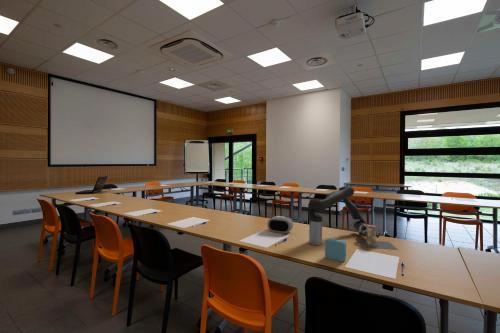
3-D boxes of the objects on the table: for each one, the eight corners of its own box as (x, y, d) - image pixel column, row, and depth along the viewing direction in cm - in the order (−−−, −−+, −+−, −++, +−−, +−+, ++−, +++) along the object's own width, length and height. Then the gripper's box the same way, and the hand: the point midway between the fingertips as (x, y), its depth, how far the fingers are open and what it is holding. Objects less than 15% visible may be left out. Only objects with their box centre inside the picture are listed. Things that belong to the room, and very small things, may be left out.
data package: (346, 260, 155) (346, 241, 155) (344, 262, 151) (344, 243, 151) (327, 255, 162) (327, 237, 162) (324, 257, 159) (325, 239, 158)
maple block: (368, 245, 181) (368, 226, 180) (366, 243, 186) (366, 224, 185) (375, 245, 180) (375, 226, 180) (373, 243, 185) (373, 225, 185)
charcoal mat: (362, 248, 176) (362, 247, 176) (355, 240, 194) (356, 239, 194) (398, 250, 172) (398, 250, 172) (389, 242, 190) (389, 241, 190)
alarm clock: (267, 232, 214) (267, 216, 214) (270, 229, 223) (270, 214, 223) (290, 235, 206) (290, 219, 206) (292, 232, 215) (293, 216, 215)
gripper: (356, 224, 198) (361, 230, 182) (375, 225, 195) (382, 231, 179) (355, 234, 198) (361, 240, 182) (375, 235, 196) (382, 241, 180)
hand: (371, 235), depth 181 cm, fingers open, 8 cm apart
